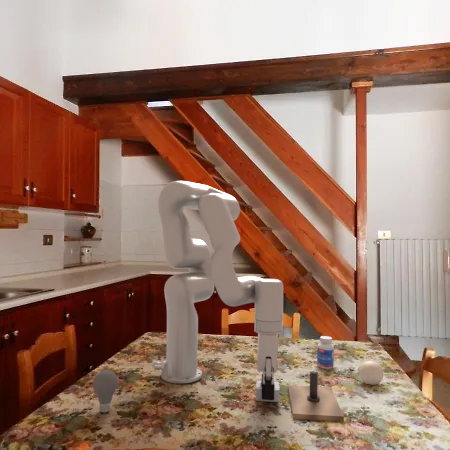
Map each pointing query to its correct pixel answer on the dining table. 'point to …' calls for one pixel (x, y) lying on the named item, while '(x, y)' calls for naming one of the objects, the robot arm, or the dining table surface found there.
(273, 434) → the dining table surface
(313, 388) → the peg on tan base
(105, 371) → the light bulb
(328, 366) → the pill bottle
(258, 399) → the link
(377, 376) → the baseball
